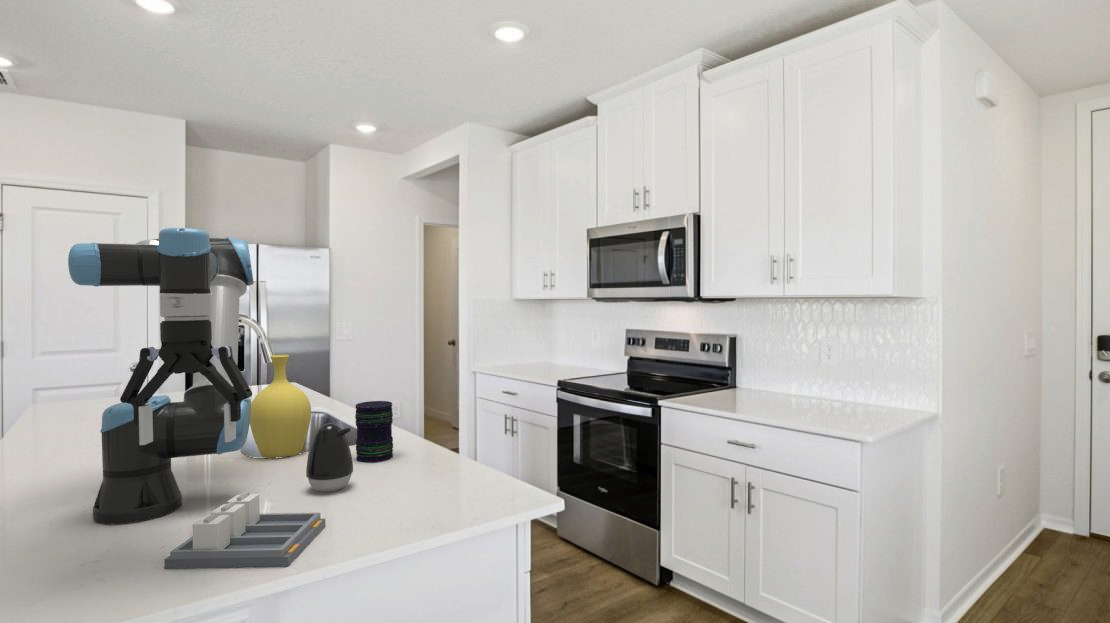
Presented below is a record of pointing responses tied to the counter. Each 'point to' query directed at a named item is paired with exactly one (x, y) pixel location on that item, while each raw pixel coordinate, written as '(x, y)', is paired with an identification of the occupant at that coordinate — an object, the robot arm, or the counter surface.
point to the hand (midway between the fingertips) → (188, 442)
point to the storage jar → (374, 431)
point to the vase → (280, 415)
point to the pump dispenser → (329, 459)
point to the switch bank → (255, 544)
